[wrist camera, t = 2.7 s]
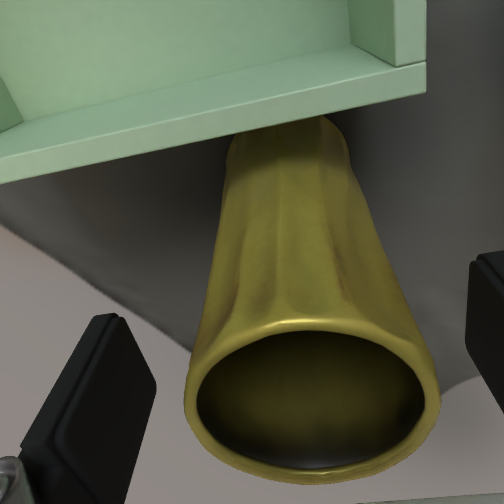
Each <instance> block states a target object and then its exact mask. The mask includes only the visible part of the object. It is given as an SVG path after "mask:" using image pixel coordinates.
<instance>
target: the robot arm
mask: <svg viewBox="0 0 504 504" xmlns="http://www.w3.org/2000/svg"><path fill="white" fill-rule="evenodd" d="M465 344H466V348H467V351H468V353H469V355H470V357H471V358H472V360H473V362H474V363H475V365H476V367H477V369H478V370H479V372H480V374H481V375H482V377H483V379H484V381H485V382H486V384H487V386H488V387H489V389H490V391H491V393H492V394H493V396H494V398H495V399H496V401H497V403H498V404H499V406H500V408H501V410H502V411H503V413H504V251H503V250H502V251H496V252H490V253H483V254H479V255H478V256H477V258H476V261H472V262H471V263H470V266H469V282H468V298H467V314H466V330H465ZM155 395H156V381H155V379H154V377H153V375H152V373H151V371H150V369H149V367H148V365H147V363H146V361H145V359H144V357H143V355H142V353H141V351H140V349H139V347H138V345H137V343H136V341H135V339H134V337H133V334H132V332H131V331H130V328H129V326H128V325H127V322H126V320H125V319H124V318H123V317H119V316H118V315H117V314H116V313H109V314H103V315H96V316H94V317H93V318H92V319H91V321H90V323H89V325H88V327H87V328H86V330H85V332H84V334H83V335H82V337H81V339H80V341H79V342H78V344H77V346H76V348H75V349H74V351H73V353H72V355H71V357H70V358H69V360H68V362H67V363H66V365H65V367H64V369H63V371H62V372H61V374H60V376H59V378H58V379H57V381H56V383H55V385H54V386H53V388H52V390H51V392H50V394H49V395H48V397H47V399H46V401H45V402H44V404H43V406H42V408H41V409H40V411H39V413H38V415H37V416H36V418H35V420H34V422H33V424H32V425H31V427H30V429H29V430H28V432H27V434H26V436H25V438H24V440H23V441H22V443H21V445H20V447H21V448H22V451H21V452H20V454H19V456H18V458H17V457H14V456H5V457H2V458H0V504H124V502H125V499H126V495H127V492H128V488H129V485H130V481H131V478H132V474H133V471H134V467H135V464H136V461H137V457H138V454H139V450H140V447H141V443H142V440H143V437H144V433H145V430H146V426H147V423H148V419H149V416H150V412H151V409H152V406H153V402H154V399H155ZM358 504H504V493H494V494H479V495H464V496H451V497H438V498H424V499H411V500H398V501H385V502H371V503H358Z"/></svg>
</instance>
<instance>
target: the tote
mask: <svg viewBox="0 0 504 504" xmlns="http://www.w3.org/2000/svg"><path fill="white" fill-rule="evenodd" d="M425 60H426V0H0V184H3V183H8V182H12V181H17V180H22V179H26V178H31V177H36V176H40V175H45V174H49V173H54V172H59V171H63V170H68V169H73V168H77V167H82V166H87V165H91V164H96V163H101V162H105V161H110V160H115V159H119V158H124V157H129V156H133V155H138V154H143V153H147V152H152V151H157V150H161V149H166V148H171V147H175V146H180V145H185V144H189V143H194V142H198V141H203V140H208V139H212V138H217V137H222V136H226V135H231V134H236V133H240V132H245V131H250V130H254V129H259V128H264V127H268V126H273V125H278V124H282V123H287V122H292V121H296V120H301V119H306V118H310V117H315V116H320V115H324V114H329V113H334V112H338V111H343V110H347V109H352V108H357V107H361V106H366V105H371V104H375V103H380V102H385V101H389V100H394V99H399V98H403V97H408V96H413V95H417V94H422V93H425V92H426V62H424V61H425Z"/></svg>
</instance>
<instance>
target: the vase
mask: <svg viewBox="0 0 504 504" xmlns="http://www.w3.org/2000/svg"><path fill="white" fill-rule="evenodd" d="M440 408H441V394H440V389H439V385H438V380H437V375H436V371H435V366H434V361H433V359H432V357H431V354H430V352H429V350H428V348H427V346H426V343H425V341H424V338H423V336H422V334H421V332H420V330H419V328H418V326H417V324H416V322H415V320H414V318H413V315H412V313H411V311H410V309H409V306H408V304H407V302H406V299H405V297H404V294H403V292H402V290H401V287H400V285H399V283H398V280H397V278H396V276H395V273H394V271H393V269H392V267H391V264H390V262H389V260H388V258H387V256H386V254H385V252H384V250H383V247H382V245H381V243H380V240H379V237H378V235H377V232H376V229H375V226H374V223H373V220H372V217H371V214H370V211H369V208H368V205H367V202H366V200H365V197H364V195H363V193H362V190H361V188H360V185H359V183H358V180H357V178H356V177H355V175H354V173H353V170H352V168H351V166H350V157H349V152H348V148H347V144H346V141H345V139H344V136H343V135H342V133H341V132H340V131H339V129H338V128H337V127H336V126H335V125H334V124H333V123H332V122H331V121H330V120H328V119H327V118H325V117H324V116H322V115H320V116H315V117H310V118H306V119H301V120H296V121H292V122H287V123H282V124H278V125H273V126H268V127H264V128H259V129H254V130H250V131H245V132H240V133H237V134H236V135H235V137H234V138H233V140H232V142H231V145H230V147H229V150H228V153H227V158H226V177H225V183H224V189H223V196H222V206H221V214H220V221H219V227H218V232H217V237H216V242H215V247H214V253H213V260H212V266H211V271H210V277H209V282H208V287H207V292H206V297H205V302H204V307H203V312H202V317H201V321H200V325H199V329H198V333H197V337H196V341H195V344H194V348H193V351H192V354H191V359H190V363H189V370H188V374H187V377H186V385H185V391H184V412H185V416H186V419H187V421H188V424H189V425H190V427H191V430H192V431H193V432H194V434H195V436H196V437H197V439H198V440H199V442H200V443H201V444H202V445H203V446H204V448H205V449H206V450H207V451H208V452H210V453H211V454H212V455H213V456H215V457H216V458H218V459H219V460H221V461H222V462H224V463H226V464H228V465H230V466H232V467H233V468H236V469H238V470H241V471H243V472H246V473H249V474H252V475H255V476H258V477H262V478H265V479H268V480H273V481H278V482H285V483H292V484H301V485H319V484H331V483H338V482H343V481H349V480H355V479H360V478H364V477H368V476H372V475H375V474H377V473H380V472H382V471H384V470H386V469H388V468H390V467H392V466H394V465H396V464H397V463H399V462H400V461H402V460H404V459H405V458H407V457H408V456H409V455H411V454H412V453H413V452H415V451H416V450H417V449H418V448H419V447H420V446H421V444H422V443H423V442H424V441H425V439H426V438H427V436H428V435H429V433H430V432H431V430H432V429H433V427H434V426H435V424H436V421H437V418H438V415H439V412H440Z"/></svg>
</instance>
